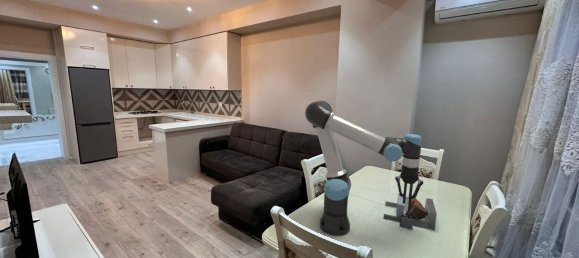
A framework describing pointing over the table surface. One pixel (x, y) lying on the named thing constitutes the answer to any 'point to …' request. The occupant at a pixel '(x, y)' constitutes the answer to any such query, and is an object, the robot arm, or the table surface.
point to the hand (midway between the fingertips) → (405, 209)
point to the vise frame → (409, 222)
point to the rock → (417, 211)
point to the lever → (414, 203)
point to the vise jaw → (400, 206)
